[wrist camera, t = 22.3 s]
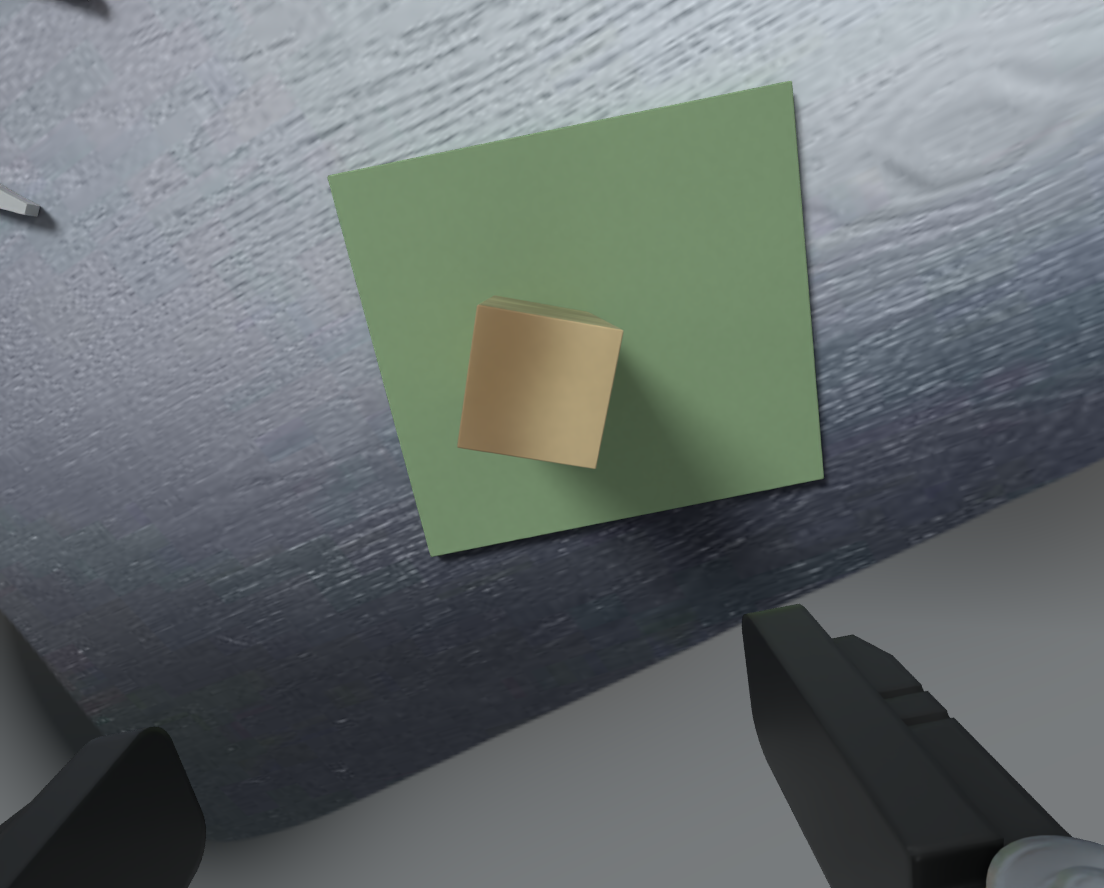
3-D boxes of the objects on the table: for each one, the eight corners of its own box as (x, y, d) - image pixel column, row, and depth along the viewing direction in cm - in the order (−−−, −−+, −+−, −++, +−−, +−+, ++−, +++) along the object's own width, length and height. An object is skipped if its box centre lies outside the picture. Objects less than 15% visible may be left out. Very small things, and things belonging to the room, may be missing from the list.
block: (589, 312, 28) (624, 330, 18) (572, 405, 29) (596, 469, 19) (493, 295, 27) (476, 304, 18) (479, 390, 29) (456, 448, 19)
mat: (819, 475, 31) (824, 479, 30) (432, 552, 31) (430, 557, 31) (786, 84, 26) (792, 79, 26) (330, 177, 26) (326, 175, 26)
